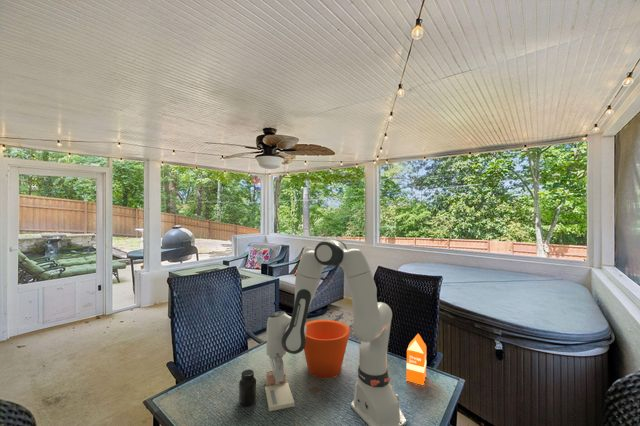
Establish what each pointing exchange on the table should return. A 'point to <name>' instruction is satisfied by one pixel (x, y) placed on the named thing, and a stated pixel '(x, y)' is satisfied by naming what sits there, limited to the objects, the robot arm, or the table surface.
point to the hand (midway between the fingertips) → (275, 379)
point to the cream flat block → (279, 396)
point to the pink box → (272, 378)
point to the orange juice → (416, 361)
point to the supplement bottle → (247, 389)
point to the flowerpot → (325, 347)
